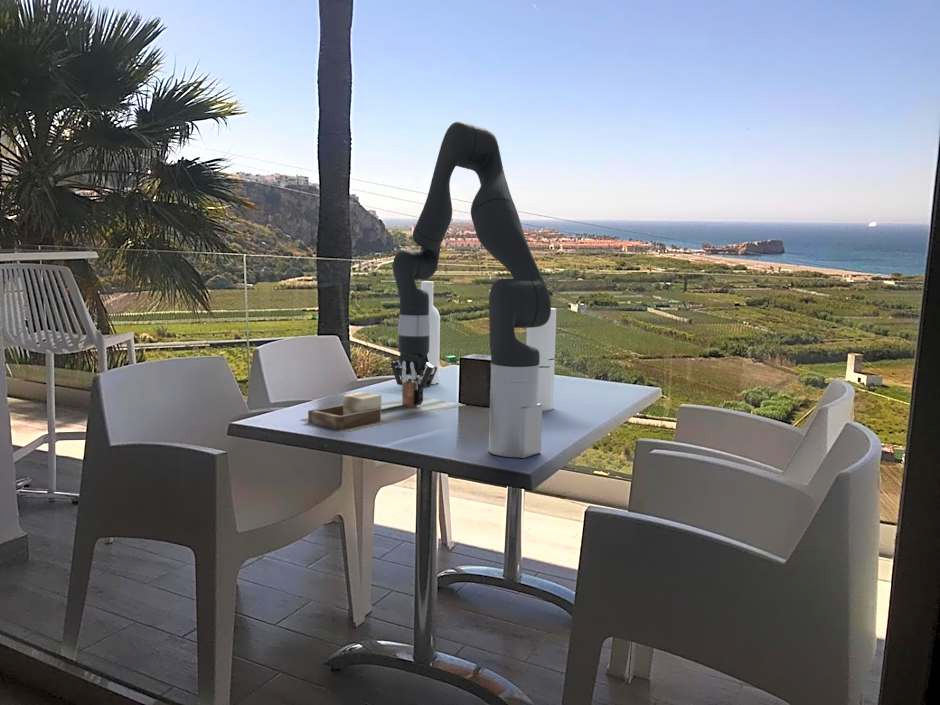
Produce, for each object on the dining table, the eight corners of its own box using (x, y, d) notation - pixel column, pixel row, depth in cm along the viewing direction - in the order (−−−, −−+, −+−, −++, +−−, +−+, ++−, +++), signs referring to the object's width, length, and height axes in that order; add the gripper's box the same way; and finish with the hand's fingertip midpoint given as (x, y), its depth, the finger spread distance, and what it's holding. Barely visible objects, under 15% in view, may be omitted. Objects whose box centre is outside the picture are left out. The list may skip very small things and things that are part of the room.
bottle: (416, 380, 226) (417, 280, 222) (441, 381, 224) (443, 281, 221) (409, 384, 218) (410, 281, 214) (436, 385, 217) (437, 282, 213)
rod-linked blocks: (422, 408, 180) (422, 383, 179) (361, 421, 164) (361, 394, 164) (404, 404, 184) (404, 380, 183) (343, 417, 168) (343, 391, 167)
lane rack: (466, 407, 185) (466, 394, 185) (349, 435, 155) (349, 419, 154) (418, 399, 195) (418, 387, 195) (299, 423, 165) (299, 408, 164)
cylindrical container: (558, 408, 187) (562, 308, 184) (540, 411, 182) (543, 309, 179) (537, 403, 192) (540, 307, 189) (518, 407, 187) (521, 307, 184)
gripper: (446, 334, 178) (444, 405, 180) (403, 330, 187) (402, 398, 189) (425, 336, 172) (424, 410, 175) (382, 332, 181) (381, 402, 183)
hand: (412, 403), depth 182 cm, fingers closed on rod-linked blocks, 2 cm apart
